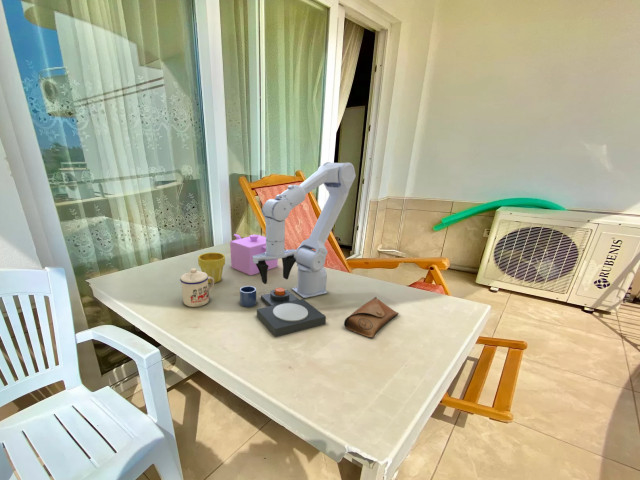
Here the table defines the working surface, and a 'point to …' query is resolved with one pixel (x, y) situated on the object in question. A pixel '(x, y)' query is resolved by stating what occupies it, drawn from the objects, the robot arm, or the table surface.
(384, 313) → the sunglasses case
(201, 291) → the teacup with lid
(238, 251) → the teapot
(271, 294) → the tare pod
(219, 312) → the table surface
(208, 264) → the flower pot
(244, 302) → the blue cup
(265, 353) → the table surface
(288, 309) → the scale
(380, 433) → the table surface
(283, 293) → the button
